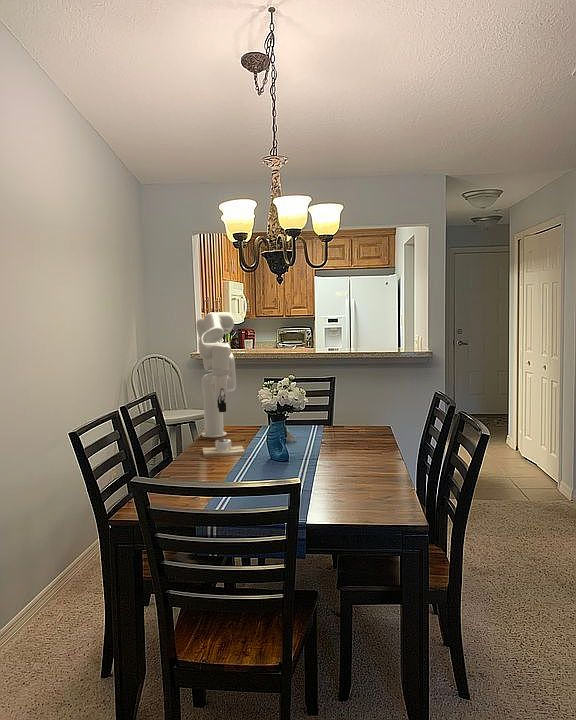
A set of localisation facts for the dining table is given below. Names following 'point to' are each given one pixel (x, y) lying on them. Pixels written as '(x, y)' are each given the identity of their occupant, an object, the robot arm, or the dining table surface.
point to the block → (213, 453)
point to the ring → (223, 445)
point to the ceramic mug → (290, 436)
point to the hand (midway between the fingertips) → (221, 409)
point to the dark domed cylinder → (223, 440)
